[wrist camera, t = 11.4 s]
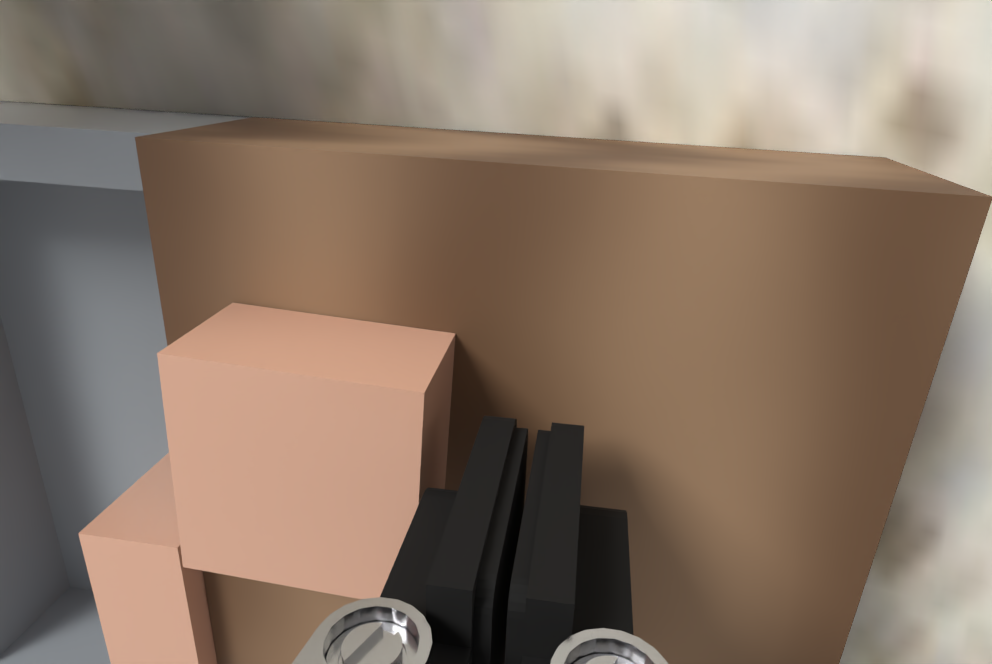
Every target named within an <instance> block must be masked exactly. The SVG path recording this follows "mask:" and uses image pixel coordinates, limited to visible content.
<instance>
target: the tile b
mask: <svg viewBox="0 0 992 664" xmlns="http://www.w3.org/2000/svg"><path fill="white" fill-rule="evenodd" d="M454 349H455V333H448V332H441V331H434V330H427V329H419V328H412V327H405V326H398V325H391V324H383V323H376V322H369V321H362V320H355V319H347V318H340V317H333V316H326V315H319V314H311V313H304V312H297V311H290V310H283V309H275V308H268V307H261V306H254V305H247V304H239V303H231V304H230V305H228V306H227V307H225V308H224V309H222V310H221V311H219V312H218V313H216V314H215V315H213V316H212V317H210V318H209V319H207V320H206V321H204V322H203V323H201V324H200V325H198V326H197V327H195V328H194V329H192V330H191V331H189V332H188V333H187V334H185V335H184V336H182V337H181V338H179V339H178V340H176V341H175V342H173V343H172V344H170V345H169V346H167V347H166V348H164V349H163V350H161V351H160V352H158V353H157V357H158V366H159V374H160V382H161V390H162V399H163V407H164V415H165V423H166V432H167V440H168V448H169V456H170V464H171V473H172V481H173V489H174V497H175V506H176V514H177V522H178V530H179V538H180V547H181V555H182V563H183V567H185V568H191V569H196V570H202V571H207V572H213V573H218V574H224V575H230V576H235V577H241V578H246V579H252V580H257V581H263V582H268V583H274V584H279V585H285V586H290V587H296V588H301V589H307V590H312V591H318V592H323V593H329V594H334V595H340V596H345V597H351V598H356V599H367V598H377V597H380V595H381V593H382V591H383V588H384V586H385V583H386V581H387V579H388V576H389V574H390V572H391V569H392V567H393V564H394V562H395V560H396V557H397V555H398V553H399V550H400V548H401V545H402V543H403V541H404V538H405V536H406V534H407V531H408V529H409V526H410V524H411V522H412V519H413V517H414V515H415V512H416V510H417V507H418V505H419V503H420V500H421V498H422V496H423V494H424V492H425V490H426V489H427V488H428V487H430V488H439V489H445V478H446V464H447V450H448V435H449V421H450V406H451V392H452V378H453V363H454Z"/></svg>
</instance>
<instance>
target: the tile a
mask: <svg viewBox="0 0 992 664" xmlns="http://www.w3.org/2000/svg"><path fill="white" fill-rule="evenodd" d="M78 534H79V538H80V542H81V546H82V550H83V554H84V558H85V562H86V566H87V570H88V574H89V578H90V582H91V586H92V590H93V594H94V598H95V602H96V606H97V610H98V614H99V618H100V622H101V626H102V630H103V634H104V638H105V642H106V646H107V650H108V654H109V658H110V662H111V664H217V658H216V652H215V646H214V639H213V633H212V627H211V620H210V614H209V607H208V601H207V595H206V588H205V582H204V576H203V571H202V570H196V569H191V568H185V567H183V563H182V555H181V547H180V538H179V530H178V522H177V514H176V506H175V497H174V489H173V481H172V473H171V464H170V456H169V453H168V454H166V455H165V456H164V457H163V458H162V459H161V460H160V461H159V462H157V463H156V464H155V465H154V466H153V467H152V468H151V469H150V470H149V471H147V472H146V473H145V474H144V475H143V476H142V477H141V478H140V479H138V480H137V481H136V482H135V483H134V484H133V485H132V486H131V487H130V488H128V489H127V490H126V491H125V492H124V493H123V494H122V495H121V496H119V497H118V498H117V499H116V500H115V501H114V502H113V503H112V504H111V505H109V506H108V507H107V508H106V509H105V510H104V511H103V512H102V513H100V514H99V515H98V516H97V517H96V518H95V519H94V520H93V521H92V522H90V523H89V524H88V525H87V526H86V527H85V528H84V529H83V530H81V531H80V532H79V533H78Z"/></svg>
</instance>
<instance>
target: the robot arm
mask: <svg viewBox="0 0 992 664" xmlns="http://www.w3.org/2000/svg"><path fill="white" fill-rule="evenodd" d="M583 443H584V426H583V425H573V424H563V423H553V422H552V425H551V431H547V430H538V433H537V439H536V444H535V450H534V455H533V461H532V466H531V472H530V477H529V483H528V488H527V494H526V500H525V484H526V467H527V450H528V429H527V428H518V427H517V419H514V418H504V417H494V416H484V417H483V419H482V422H481V425H480V428H479V431H478V433H477V436H476V439H475V442H474V445H473V448H472V451H471V454H470V457H469V460H468V463H467V466H466V468H465V471H464V474H463V477H462V480H461V483H460V486H459V489H458V491H456V490H447V489H439V488H430V487H428V488H427V489H426V490H425V492H424V494H423V496H422V498H421V500H420V503H419V505H418V507H417V510H416V512H415V515H414V517H413V519H412V522H411V524H410V526H409V529H408V531H407V534H406V536H405V538H404V541H403V543H402V545H401V548H400V550H399V553H398V555H397V557H396V560H395V562H394V564H393V567H392V569H391V572H390V574H389V576H388V579H387V581H386V583H385V586H384V588H383V591H382V593H381V595H380V597H377V598H367V599H361V600H358V601H355V602H352V603H349V604H346V605H344V606H343V607H341V608H339V609H338V610H336V611H334V612H333V613H331V614H330V615H329V616H328V617H327V618H326V619H325V620H324V621H323V622H322V623H321V624H320V625H319V626H318V628H317V629H316V630H315V632H314V633H313V635H312V636H311V637H310V639H309V640H308V642H307V643H306V644H305V646H304V647H303V649H302V650H301V651H300V653H299V654H298V656H297V657H296V658H295V660H294V661H293V663H292V664H668V662H667V661H666V660H665V659H664V658H663V657H662V656H661V654H660V653H659V652H658V651H657V650H656V649H655V648H654V647H652V646H651V645H649V644H648V643H646V642H645V641H644V640H642V639H641V638H639V637H636V636H634V634H633V615H632V595H631V576H630V556H629V537H628V518H627V512H626V510H619V509H610V508H602V507H593V506H584V505H580V498H581V480H582V461H583ZM524 502H525V505H524Z"/></svg>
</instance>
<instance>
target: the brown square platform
mask: <svg viewBox="0 0 992 664" xmlns="http://www.w3.org/2000/svg"><path fill="white" fill-rule="evenodd" d="M135 142H136V149H137V155H138V162H139V168H140V174H141V181H142V187H143V193H144V200H145V206H146V212H147V219H148V225H149V232H150V238H151V244H152V251H153V257H154V263H155V270H156V276H157V283H158V289H159V295H160V302H161V308H162V314H163V321H164V327H165V333H166V340H167V346H169V345H170V344H172V343H173V342H175V341H176V340H178V339H179V338H181V337H182V336H184V335H185V334H187V333H188V332H189V331H191V330H192V329H194V328H195V327H197V326H198V325H200V324H201V323H203V322H204V321H206V320H207V319H209V318H210V317H212V316H213V315H215V314H216V313H218V312H219V311H221V310H222V309H224V308H225V307H227V306H228V305H230V304H231V303H239V304H247V305H254V306H261V307H268V308H275V309H283V310H290V311H297V312H304V313H311V314H319V315H326V316H333V317H340V318H347V319H355V320H362V321H369V322H376V323H383V324H391V325H398V326H405V327H412V328H419V329H427V330H434V331H441V332H448V333H455V349H454V363H453V378H452V392H451V406H450V421H449V435H448V450H447V464H446V478H445V489H447V490H456V491H458V489H459V486H460V483H461V480H462V477H463V474H464V471H465V468H466V466H467V463H468V460H469V457H470V454H471V451H472V448H473V445H474V442H475V439H476V436H477V433H478V431H479V428H480V425H481V422H482V419H483V417H484V416H494V417H504V418H514V419H517V427H518V428H527V429H528V450H527V467H526V484H525V500H526V494H527V488H528V483H529V477H530V472H531V466H532V461H533V455H534V450H535V444H536V439H537V433H538V430H547V431H551V425H552V422H553V423H563V424H573V425H583V426H584V443H583V461H582V480H581V498H580V505H584V506H593V507H602V508H610V509H619V510H626V512H627V518H628V537H629V556H630V576H631V595H632V615H633V634H634V636H636V637H639V638H641V639H642V640H644V641H645V642H646V643H648V644H649V645H651V646H652V647H654V648H655V649H656V650H657V651H658V652H659V653H660V654H661V656H662V657H663V658H664V659H665V660H666V661H667V662H668V664H839V662H840V659H841V656H842V653H843V650H844V647H845V644H846V641H847V638H848V635H849V632H850V629H851V626H852V623H853V619H854V616H855V613H856V610H857V607H858V604H859V601H860V598H861V595H862V592H863V589H864V586H865V583H866V580H867V577H868V574H869V571H870V568H871V565H872V562H873V559H874V556H875V553H876V550H877V547H878V544H879V541H880V538H881V535H882V532H883V529H884V525H885V522H886V519H887V516H888V513H889V510H890V507H891V504H892V501H893V498H894V495H895V492H896V489H897V486H898V483H899V480H900V477H901V474H902V471H903V468H904V465H905V462H906V459H907V456H908V453H909V450H910V447H911V444H912V441H913V438H914V435H915V432H916V428H917V425H918V422H919V419H920V416H921V413H922V410H923V407H924V404H925V401H926V398H927V395H928V392H929V389H930V386H931V383H932V380H933V377H934V374H935V371H936V368H937V365H938V362H939V359H940V356H941V353H942V350H943V347H944V344H945V341H946V338H947V334H948V331H949V328H950V325H951V322H952V319H953V316H954V313H955V310H956V307H957V304H958V301H959V298H960V295H961V292H962V289H963V286H964V283H965V280H966V277H967V274H968V271H969V268H970V265H971V262H972V259H973V256H974V253H975V250H976V247H977V244H978V240H979V237H980V234H981V231H982V228H983V225H984V222H985V219H986V216H987V213H988V210H989V207H990V204H991V201H992V197H991V196H989V195H986V194H983V193H980V192H978V191H975V190H972V189H969V188H967V187H964V186H961V185H958V184H956V183H953V182H950V181H948V180H945V179H942V178H939V177H937V176H934V175H931V174H928V173H926V172H923V171H920V170H917V169H915V168H912V167H909V166H907V165H904V164H901V163H898V162H896V161H893V160H890V159H887V158H882V157H866V156H851V155H835V154H820V153H804V152H788V151H773V150H757V149H742V148H726V147H711V146H695V145H679V144H664V143H648V142H633V141H617V140H601V139H586V138H570V137H555V136H539V135H524V134H508V133H492V132H477V131H461V130H446V129H430V128H414V127H399V126H383V125H368V124H352V123H337V122H321V121H305V120H290V119H274V118H259V117H251V118H246V119H240V120H234V121H228V122H222V123H216V124H210V125H204V126H198V127H192V128H186V129H180V130H174V131H168V132H162V133H156V134H150V135H144V136H138V137H135ZM524 505H525V502H524ZM203 576H204V582H205V588H206V595H207V601H208V607H209V614H210V620H211V627H212V633H213V639H214V646H215V652H216V658H217V664H292V663H293V661H294V660H295V658H296V657H297V656H298V654H299V653H300V651H301V650H302V649H303V647H304V646H305V644H306V643H307V642H308V640H309V639H310V637H311V636H312V635H313V633H314V632H315V630H316V629H317V628H318V626H319V625H320V624H321V623H322V622H323V621H324V620H325V619H326V618H327V617H328V616H329V615H330V614H331V613H333V612H334V611H336V610H338V609H339V608H341V607H343V606H344V605H346V604H349V603H352V602H355V601H358V600H361V599H356V598H351V597H345V596H340V595H334V594H329V593H323V592H318V591H312V590H307V589H301V588H296V587H290V586H285V585H279V584H274V583H268V582H263V581H257V580H252V579H246V578H241V577H235V576H230V575H224V574H218V573H213V572H207V571H203Z"/></svg>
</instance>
